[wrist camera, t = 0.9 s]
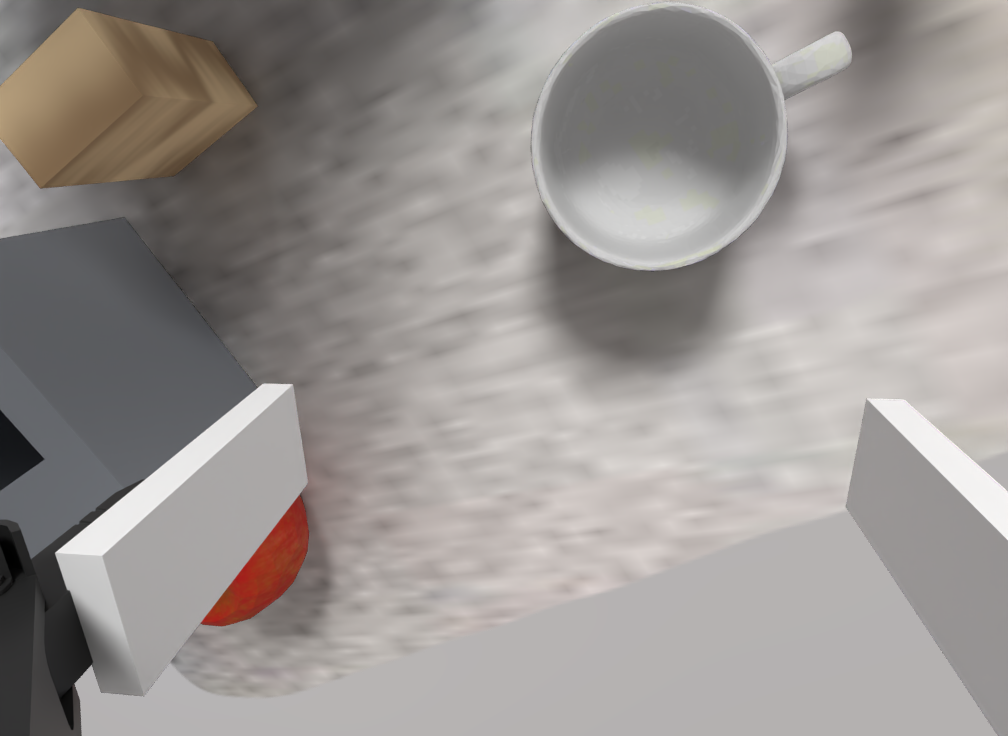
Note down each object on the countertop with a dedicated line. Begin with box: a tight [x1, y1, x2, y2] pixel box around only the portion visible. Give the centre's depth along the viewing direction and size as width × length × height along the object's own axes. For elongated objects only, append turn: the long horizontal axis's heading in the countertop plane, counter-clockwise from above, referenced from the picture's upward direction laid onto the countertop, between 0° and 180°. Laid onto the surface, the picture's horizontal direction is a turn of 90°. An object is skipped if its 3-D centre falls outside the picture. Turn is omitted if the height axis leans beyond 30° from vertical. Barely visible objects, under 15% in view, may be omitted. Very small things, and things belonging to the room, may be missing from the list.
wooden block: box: [0, 8, 258, 188], centre depth 32 cm, size 4×7×10 cm, turn 123°
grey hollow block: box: [0, 218, 257, 559], centre depth 37 cm, size 14×14×13 cm
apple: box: [200, 495, 309, 626], centre depth 40 cm, size 9×8×11 cm
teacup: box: [531, 2, 852, 271], centre depth 31 cm, size 14×11×8 cm
